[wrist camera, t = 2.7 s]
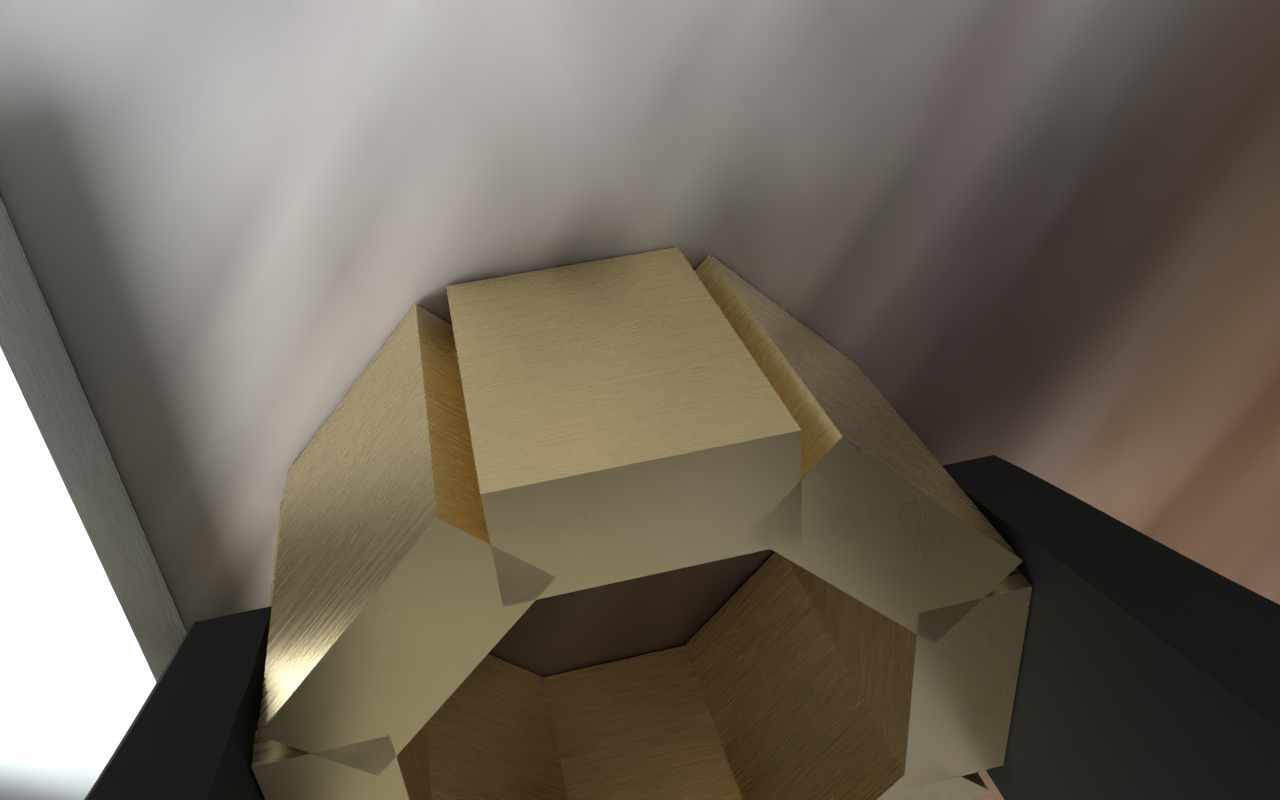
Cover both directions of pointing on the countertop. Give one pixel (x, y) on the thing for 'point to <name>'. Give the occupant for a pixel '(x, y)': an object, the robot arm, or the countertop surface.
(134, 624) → the piston block
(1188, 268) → the countertop surface
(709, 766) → the brass ring
